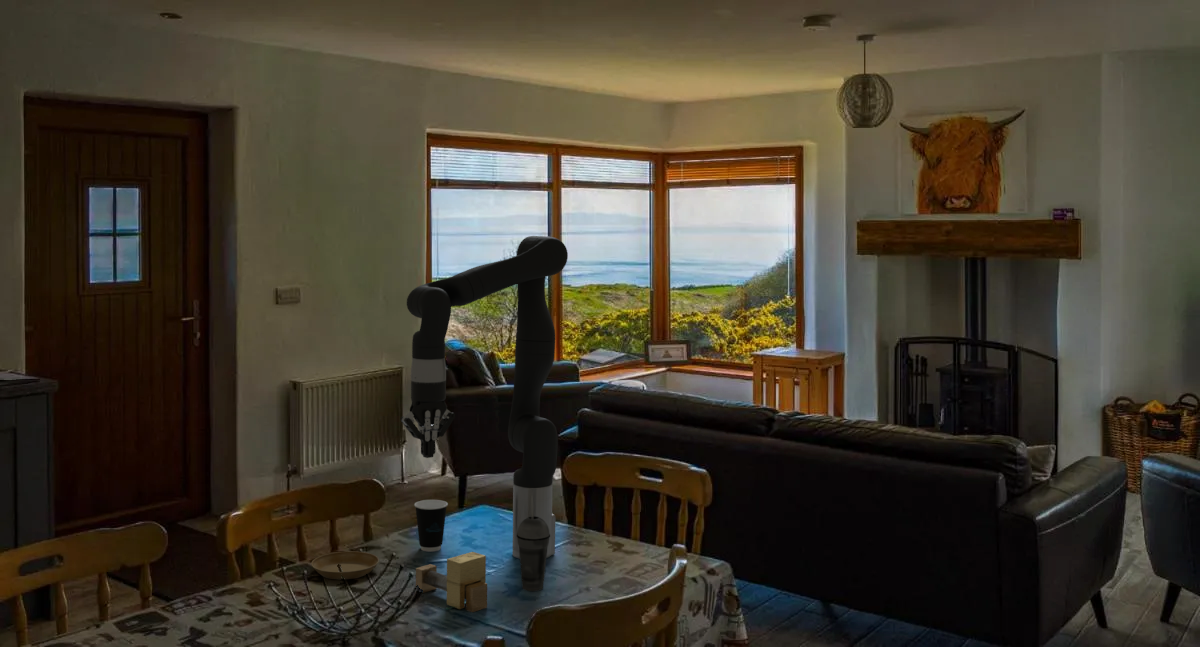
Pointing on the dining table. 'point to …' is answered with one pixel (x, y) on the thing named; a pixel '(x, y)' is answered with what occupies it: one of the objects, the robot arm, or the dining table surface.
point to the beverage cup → (533, 551)
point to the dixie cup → (430, 523)
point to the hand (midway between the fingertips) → (428, 456)
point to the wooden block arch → (463, 576)
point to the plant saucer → (345, 564)
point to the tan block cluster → (432, 580)
